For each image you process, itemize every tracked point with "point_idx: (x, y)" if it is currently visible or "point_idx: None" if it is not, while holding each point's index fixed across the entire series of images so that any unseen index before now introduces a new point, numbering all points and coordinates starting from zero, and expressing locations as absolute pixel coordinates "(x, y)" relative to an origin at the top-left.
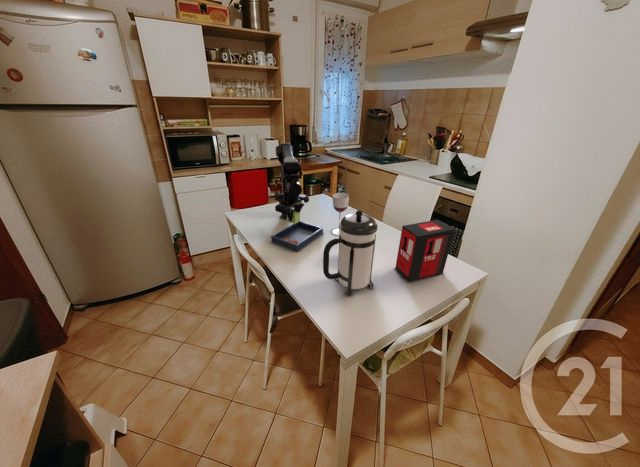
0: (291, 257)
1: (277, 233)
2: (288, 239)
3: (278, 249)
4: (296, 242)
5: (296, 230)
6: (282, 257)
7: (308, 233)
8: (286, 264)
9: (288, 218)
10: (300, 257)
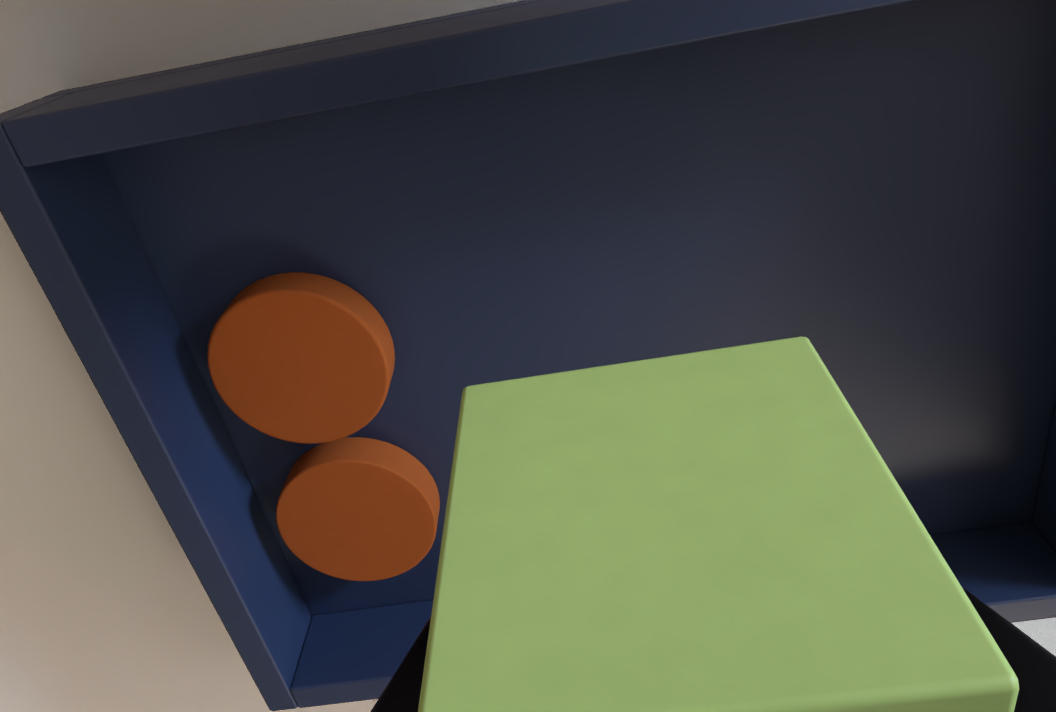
0: (154, 648)
1: (187, 118)
2: (344, 388)
3: (75, 396)
4: (393, 554)
5: (838, 115)
6: (38, 584)
7: (864, 405)
8: (21, 701)
9: (409, 654)
10: (258, 706)
